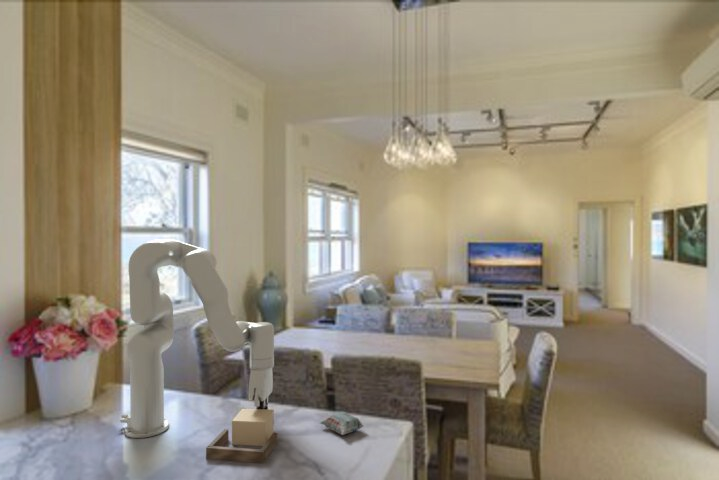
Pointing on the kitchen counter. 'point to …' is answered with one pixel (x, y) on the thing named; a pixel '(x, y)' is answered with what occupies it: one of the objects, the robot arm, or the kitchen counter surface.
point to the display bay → (239, 450)
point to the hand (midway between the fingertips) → (262, 419)
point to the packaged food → (342, 423)
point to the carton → (252, 427)
